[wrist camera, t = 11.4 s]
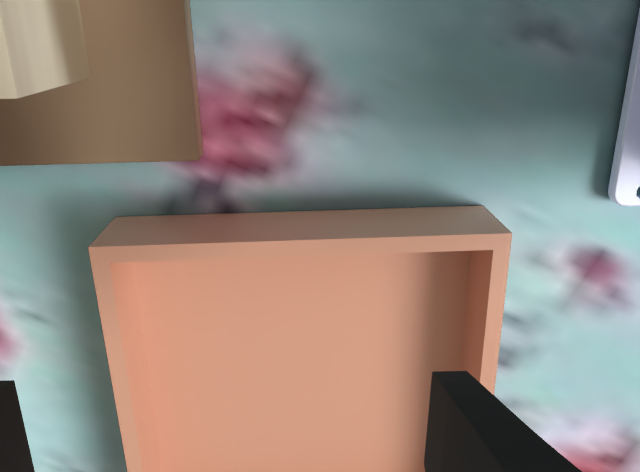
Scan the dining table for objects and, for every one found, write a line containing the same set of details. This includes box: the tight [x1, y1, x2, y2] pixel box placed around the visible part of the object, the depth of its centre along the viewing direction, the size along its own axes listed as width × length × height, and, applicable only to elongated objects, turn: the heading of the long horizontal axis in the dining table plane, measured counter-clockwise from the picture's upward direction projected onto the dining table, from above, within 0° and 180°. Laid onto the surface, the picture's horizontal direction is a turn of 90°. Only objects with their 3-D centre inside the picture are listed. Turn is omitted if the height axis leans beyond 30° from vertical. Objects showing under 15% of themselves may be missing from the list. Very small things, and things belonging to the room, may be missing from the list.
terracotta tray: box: [88, 206, 512, 472], centre depth 19 cm, size 12×12×3 cm
